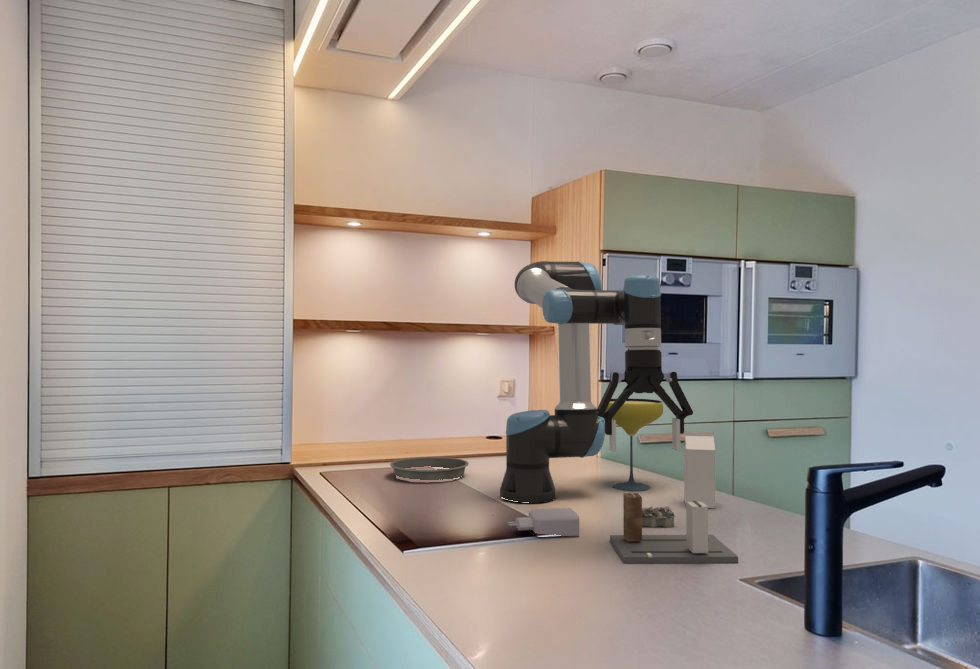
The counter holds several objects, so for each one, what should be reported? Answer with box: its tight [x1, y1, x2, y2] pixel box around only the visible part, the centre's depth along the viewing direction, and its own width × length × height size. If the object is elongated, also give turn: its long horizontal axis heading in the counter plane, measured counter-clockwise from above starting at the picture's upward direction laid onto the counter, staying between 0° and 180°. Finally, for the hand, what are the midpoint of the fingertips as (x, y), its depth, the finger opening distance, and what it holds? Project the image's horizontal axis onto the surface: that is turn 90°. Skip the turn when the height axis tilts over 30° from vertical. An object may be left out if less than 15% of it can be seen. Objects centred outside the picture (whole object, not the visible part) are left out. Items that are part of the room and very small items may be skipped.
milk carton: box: [683, 430, 716, 509], centre depth 180 cm, size 7×7×19 cm
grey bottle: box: [507, 507, 580, 537], centre depth 155 cm, size 5×9×15 cm
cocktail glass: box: [605, 398, 664, 492], centre depth 202 cm, size 18×18×25 cm
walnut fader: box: [622, 491, 643, 541], centre depth 145 cm, size 3×4×9 cm
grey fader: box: [685, 500, 709, 553], centre depth 137 cm, size 3×4×9 cm
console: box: [609, 534, 739, 564], centre depth 141 cm, size 22×15×2 cm
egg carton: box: [642, 505, 677, 528], centre depth 163 cm, size 11×8×4 cm
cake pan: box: [389, 456, 469, 480], centre depth 219 cm, size 25×25×4 cm
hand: (644, 450), depth 146 cm, fingers open, 13 cm apart
